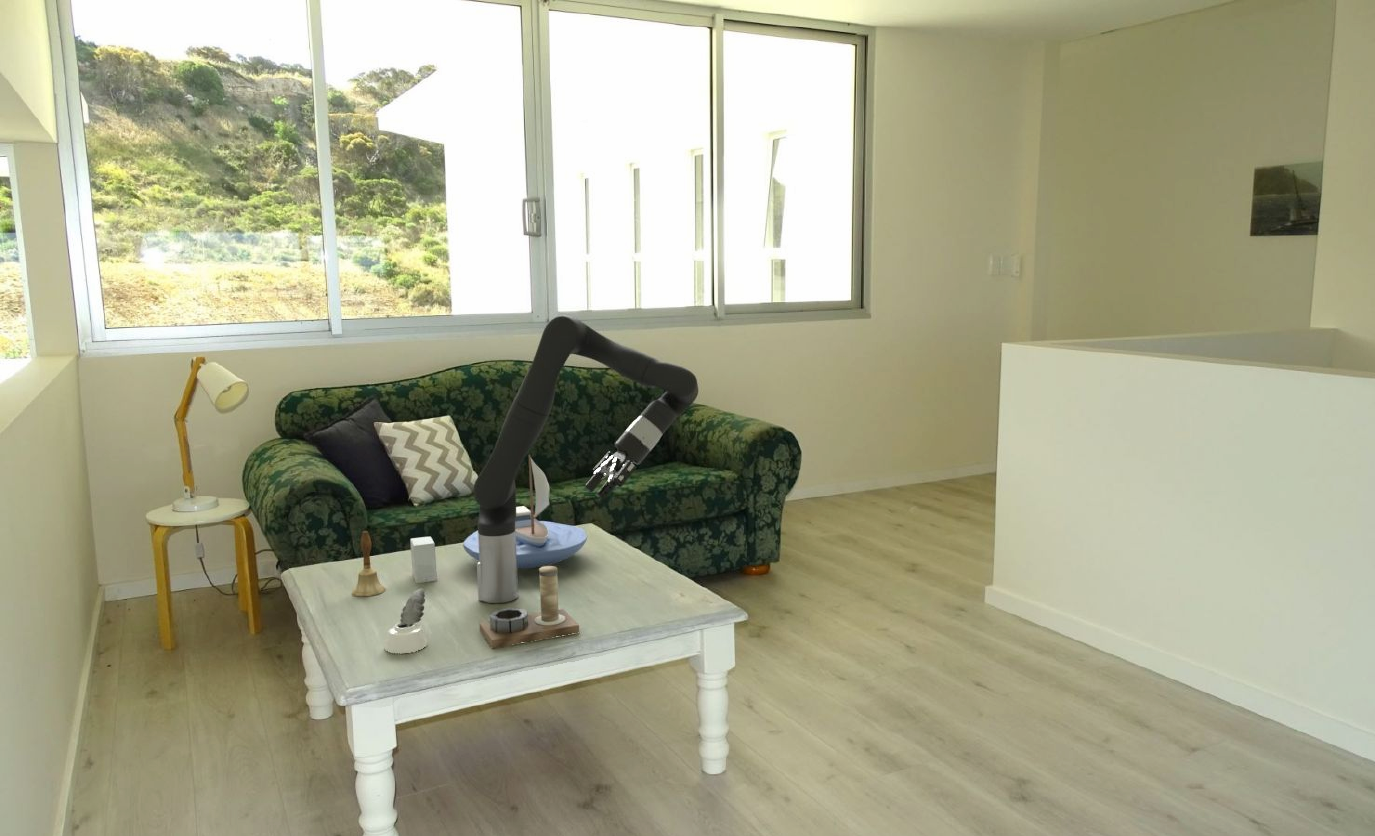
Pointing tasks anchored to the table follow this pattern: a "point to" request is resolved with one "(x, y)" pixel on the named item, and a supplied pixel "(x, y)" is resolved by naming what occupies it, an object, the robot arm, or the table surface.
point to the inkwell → (408, 627)
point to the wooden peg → (549, 594)
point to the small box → (423, 559)
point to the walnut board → (530, 631)
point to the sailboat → (537, 531)
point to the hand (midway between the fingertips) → (593, 493)
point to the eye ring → (509, 620)
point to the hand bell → (367, 572)
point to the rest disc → (540, 622)
